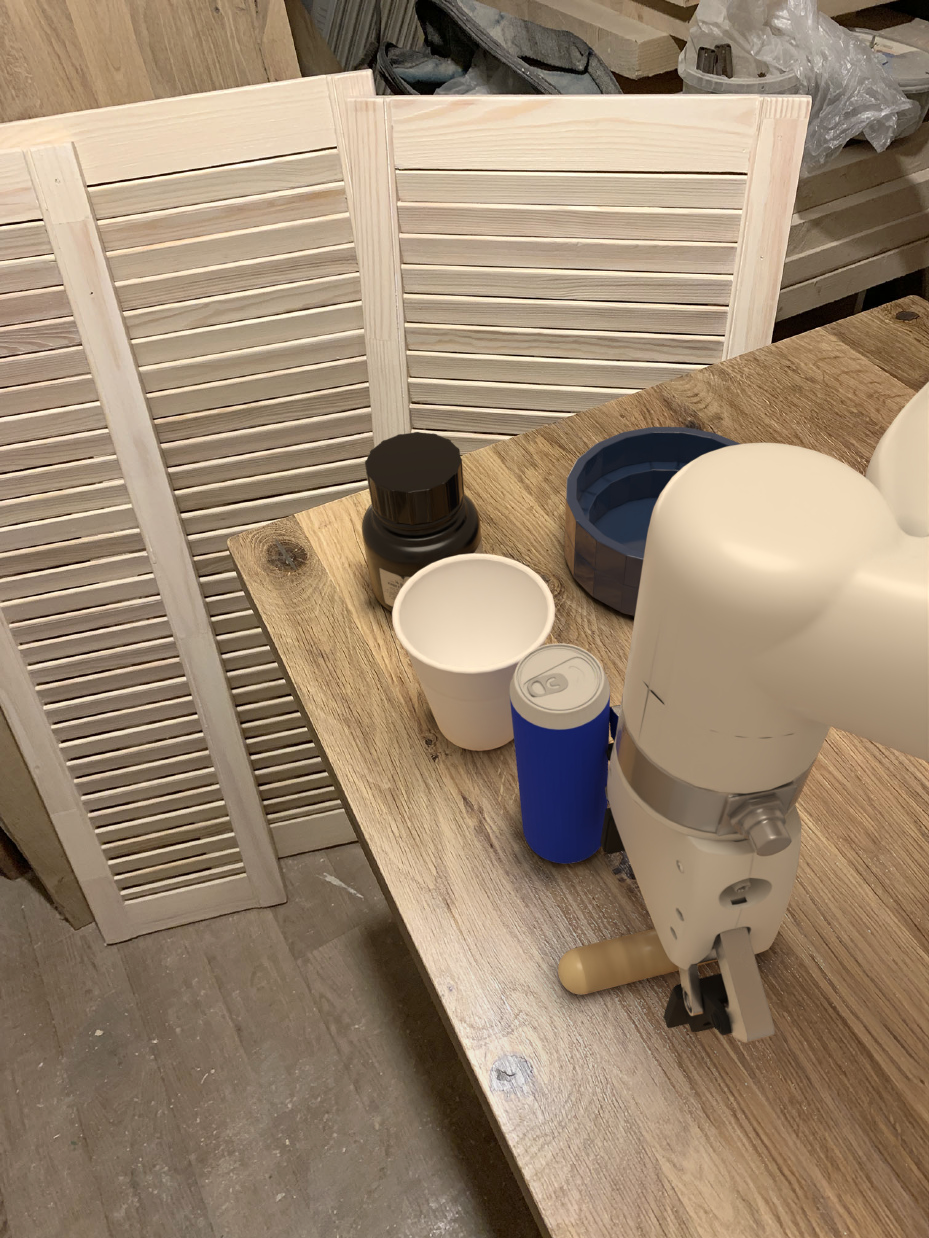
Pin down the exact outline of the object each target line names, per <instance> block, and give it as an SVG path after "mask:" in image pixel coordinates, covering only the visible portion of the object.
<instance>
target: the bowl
mask: <svg viewBox="0 0 929 1238" xmlns="http://www.w3.org/2000/svg"><path fill="white" fill-rule="evenodd" d="M739 444H741V443H740V442H738V441H735V440H733V439H730V438H728V437H725V436H723V435H721V434H718V433H715V432H712V431H706V430H702V429H695V428H690V427H687V426H648V427H643V428H637V429H633V430H627V431H622V432H619V433H618V434H614V435H613V436H610V437H607V438H605V439H603V440H601V441H598V442H597V443H595V444H593V445H592V446H591V447H590V448H588V450H586V451H585V452H584V453H583V454H581V455H580V456H579V457H578V458H577V459H576V460H575V462H574V464H573V466H572V468H571V470H570V472H569V473H568V475H567V477H566V481H565V482H566V484H565V509H564V510H565V514H564V515H565V516H564V543H563V545H564V546H563V556H564V559H565V561H566V563H567V565H568V568H569V570H570V572H571V575H572V577H573V579H574V580H575V581H576V582H577V583H578V584H579V585H580V586H581V587H582V588H583V589H584V590H585V591H586V592H587V593H588V594H589V595H590V596H591V597H593V598H594V599H595V600H597V601H599V602H601V603H602V604H605V605H607V606H609V607H610V608H612V609H614V610H616V611H617V612H620V613H622V614H625V615H629V616H632V617H635V612H636V605H637V599H638V592H639V586H640V579H641V573H642V566H643V559H644V553H645V546H646V540H647V534H648V529H649V525H650V520H651V516H652V512H653V509H654V506H655V504H656V502H657V500H658V498H659V495H660V494H661V492H662V491H663V489H664V488H665V486H666V485H667V484H668V482H669V481H670V480H671V478H672V477H673V476H674V475H675V474H676V473H677V472H678V471H680V470H681V469H682V468H683V467H684V466H686V465H687V464H689V463H690V462H692V461H693V460H695V459H697V458H698V457H700V456H701V455H704V454H706V453H709V452H712V451H715V450H718V449H721V448H724V447H727V446H733V445H739Z"/></svg>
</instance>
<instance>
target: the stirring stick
mask: <svg viewBox="0 0 929 1238" xmlns="http://www.w3.org/2000/svg"><path fill="white" fill-rule="evenodd" d="M713 962H718V959H716V960H712V961H708V962H704V963H700V964H697V965H698V966H702V965H705V964H710V963H713ZM674 972H679V966H677V965H675V964H674V963H673V962H672V961H671V960H670V959H669V958H668V956H667V954H666V952H665V950H664V948H663V946H662V943H661V941H660V939H659V936H658V934H657V931H656V929H655V927H654V928H650V929H646V930H642V931H638V932H633V933H630V934H626V935H621V936H617V937H614V938H610V939H606V940H602V941H598V942H594V943H590V944H586V945H580V946H578V947H573V948H571V949H568V950H567V951H566V952H565V953H564V954H563V955H562V956H561V957H560V960H559V962H558V966H557V974H558V979H559V981H560V982H561V984H562V986H563V987H564V988H565V989H566V990H567V991H569V992H571V993H572V994H576V995H587V994H591V993H596V992H598V991H599V992H600V991H604V990H607V989H611V988H615V987H618V986H619V987H620V986H622V985H626V984H631V983H635V982H638V981H642V980H646V979H650V978H651V979H652V978H654V977H659V976H662V975H663V976H664V975H666V974H670V973H674Z"/></svg>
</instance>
